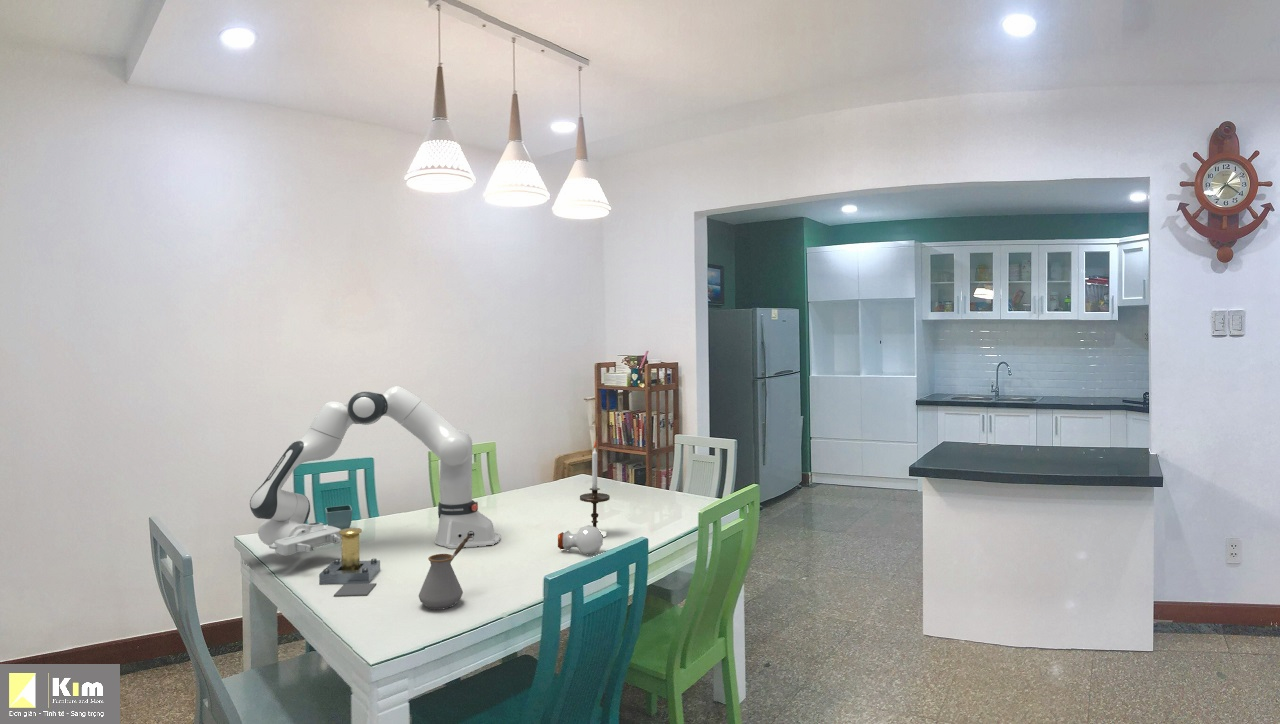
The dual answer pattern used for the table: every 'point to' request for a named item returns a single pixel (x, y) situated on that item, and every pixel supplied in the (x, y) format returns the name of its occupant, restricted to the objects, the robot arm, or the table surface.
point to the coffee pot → (441, 581)
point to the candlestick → (594, 490)
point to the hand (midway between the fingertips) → (325, 544)
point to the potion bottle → (582, 540)
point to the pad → (355, 589)
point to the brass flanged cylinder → (350, 548)
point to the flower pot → (339, 516)
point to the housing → (349, 573)
